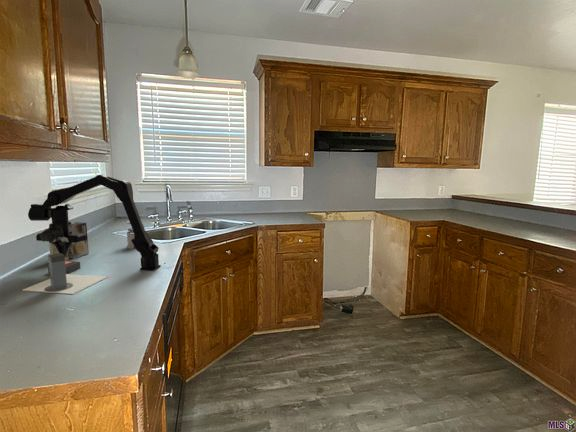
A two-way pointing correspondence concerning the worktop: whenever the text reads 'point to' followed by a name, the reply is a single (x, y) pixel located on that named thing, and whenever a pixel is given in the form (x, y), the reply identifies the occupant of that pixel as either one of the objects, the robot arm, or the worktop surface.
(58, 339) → the worktop surface
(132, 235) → the french press
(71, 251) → the coffee box
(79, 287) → the paper sheet
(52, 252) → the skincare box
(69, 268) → the button socket
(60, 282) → the dark grey block
